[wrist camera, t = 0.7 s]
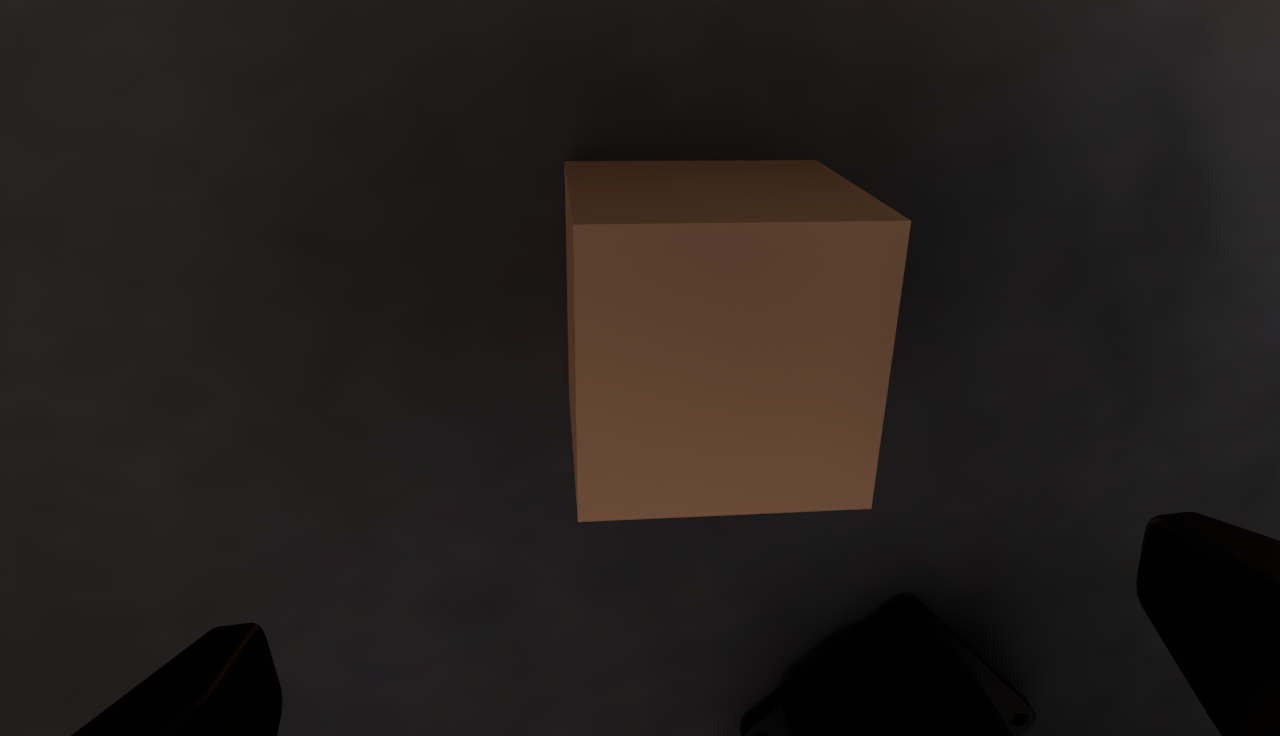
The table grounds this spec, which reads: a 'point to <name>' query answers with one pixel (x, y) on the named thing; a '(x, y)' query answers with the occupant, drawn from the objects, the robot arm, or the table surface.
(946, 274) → the table surface
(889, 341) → the cube
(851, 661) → the robot arm
